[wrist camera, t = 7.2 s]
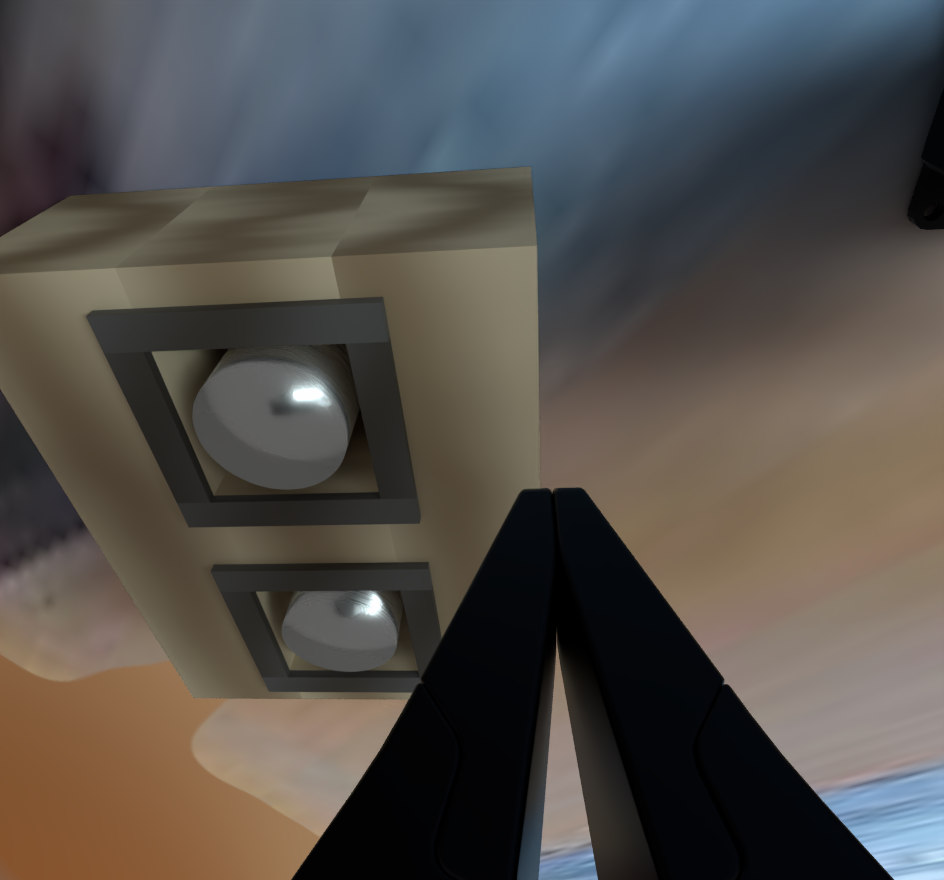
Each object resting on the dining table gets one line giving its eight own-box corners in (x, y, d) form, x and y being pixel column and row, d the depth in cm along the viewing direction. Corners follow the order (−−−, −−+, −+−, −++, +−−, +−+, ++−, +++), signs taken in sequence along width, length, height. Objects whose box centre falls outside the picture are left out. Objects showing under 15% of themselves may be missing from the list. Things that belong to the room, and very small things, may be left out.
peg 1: (371, 266, 20) (329, 364, 15) (390, 375, 22) (359, 488, 18) (246, 272, 20) (168, 370, 16) (278, 379, 23) (220, 491, 18)
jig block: (530, 166, 18) (537, 250, 14) (537, 577, 29) (543, 707, 25) (70, 195, 20) (-79, 283, 15) (242, 580, 31) (190, 704, 26)
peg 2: (409, 482, 25) (387, 602, 21) (422, 551, 28) (404, 671, 23) (311, 485, 26) (267, 603, 21) (331, 552, 28) (297, 671, 24)
